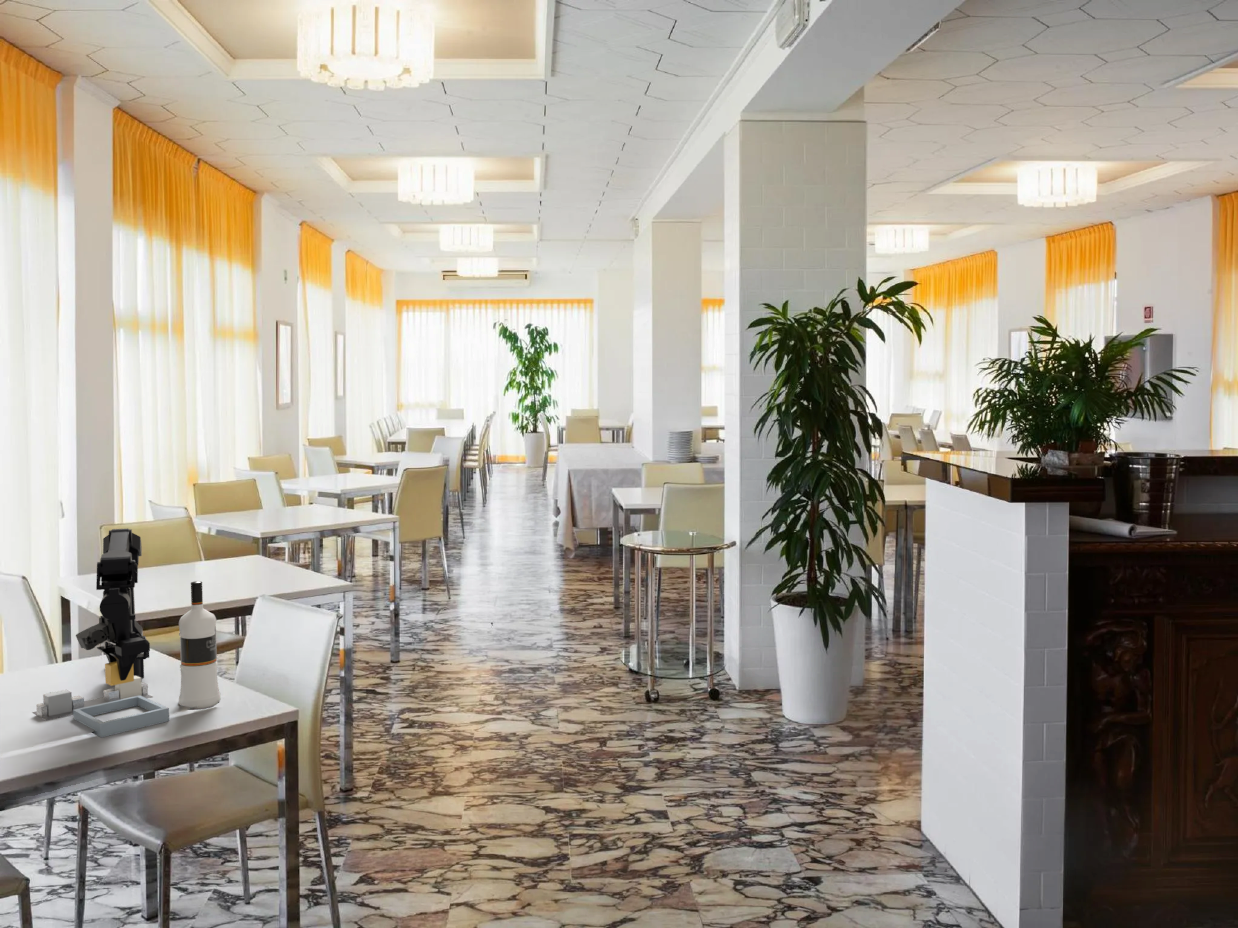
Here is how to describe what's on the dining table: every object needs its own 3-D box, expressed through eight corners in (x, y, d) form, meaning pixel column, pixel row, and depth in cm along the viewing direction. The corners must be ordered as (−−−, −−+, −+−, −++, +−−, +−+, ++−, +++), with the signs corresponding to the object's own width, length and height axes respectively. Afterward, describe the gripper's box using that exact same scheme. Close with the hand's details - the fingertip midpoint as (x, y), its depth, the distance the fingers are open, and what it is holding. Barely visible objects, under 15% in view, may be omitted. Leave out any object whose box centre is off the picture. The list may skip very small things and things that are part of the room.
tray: (140, 707, 242) (139, 695, 241) (169, 720, 232) (168, 707, 232) (73, 722, 230) (72, 709, 230) (100, 737, 220) (100, 723, 220)
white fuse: (136, 693, 250) (135, 675, 249) (141, 695, 248) (141, 677, 247) (115, 697, 246) (114, 679, 246) (120, 700, 244) (120, 681, 244)
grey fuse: (67, 708, 238) (66, 689, 237) (72, 710, 236) (71, 691, 235) (43, 713, 234) (43, 694, 234) (48, 715, 232) (48, 696, 232)
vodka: (180, 701, 247) (176, 579, 245) (221, 697, 250) (217, 576, 248) (177, 712, 238) (174, 586, 236) (220, 708, 241) (216, 583, 239)
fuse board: (137, 693, 253) (136, 679, 253) (153, 700, 247) (153, 686, 247) (32, 716, 235) (31, 701, 235) (46, 724, 229) (46, 709, 229)
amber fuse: (128, 678, 233) (127, 659, 233) (133, 680, 231) (133, 661, 231) (105, 683, 230) (104, 663, 229) (111, 685, 228) (110, 665, 227)
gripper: (63, 610, 229) (65, 678, 231) (97, 623, 217) (100, 694, 218) (114, 603, 238) (116, 668, 239) (149, 614, 226) (152, 683, 227)
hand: (119, 678), depth 230 cm, fingers closed on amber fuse, 3 cm apart
